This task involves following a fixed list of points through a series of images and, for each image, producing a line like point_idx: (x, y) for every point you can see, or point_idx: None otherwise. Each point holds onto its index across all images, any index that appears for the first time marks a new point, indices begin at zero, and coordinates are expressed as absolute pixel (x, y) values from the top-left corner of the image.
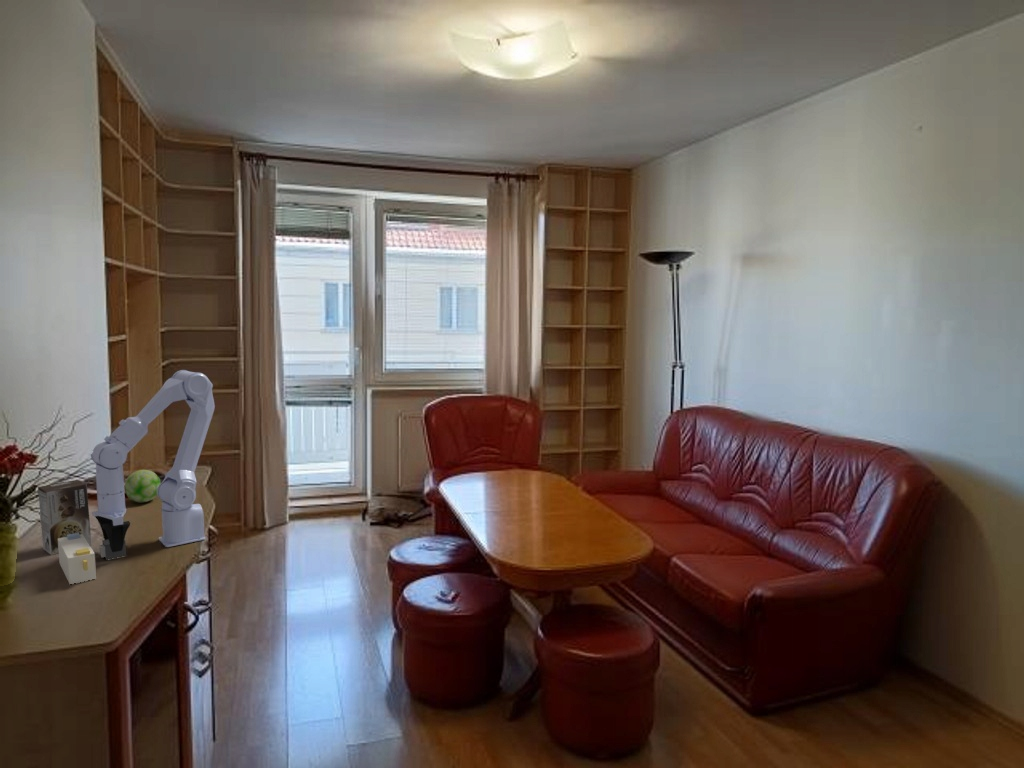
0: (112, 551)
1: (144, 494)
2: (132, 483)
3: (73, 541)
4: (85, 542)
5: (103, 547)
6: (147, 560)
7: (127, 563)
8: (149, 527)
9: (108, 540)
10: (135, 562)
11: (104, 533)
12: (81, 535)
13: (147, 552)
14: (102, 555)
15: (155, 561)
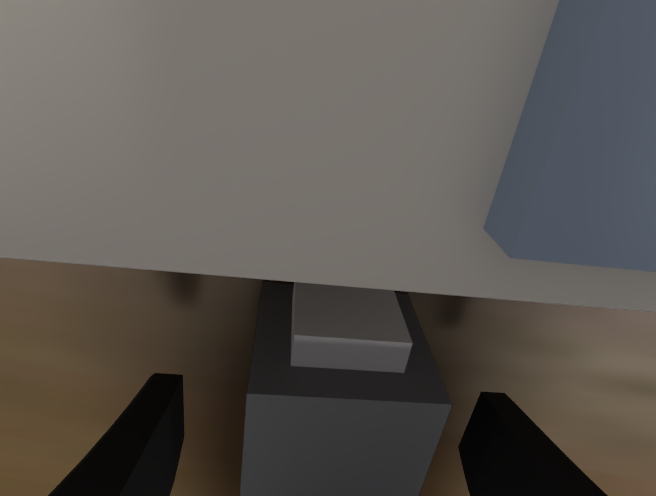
0: (149, 379)
1: None
2: None
3: (319, 9)
4: (17, 221)
5: (295, 354)
6: (70, 459)
7: (81, 368)
8: None
9: (393, 441)
10: (71, 406)
11: (543, 487)
12: (625, 283)
13: None
14: (296, 289)
15: (17, 483)
